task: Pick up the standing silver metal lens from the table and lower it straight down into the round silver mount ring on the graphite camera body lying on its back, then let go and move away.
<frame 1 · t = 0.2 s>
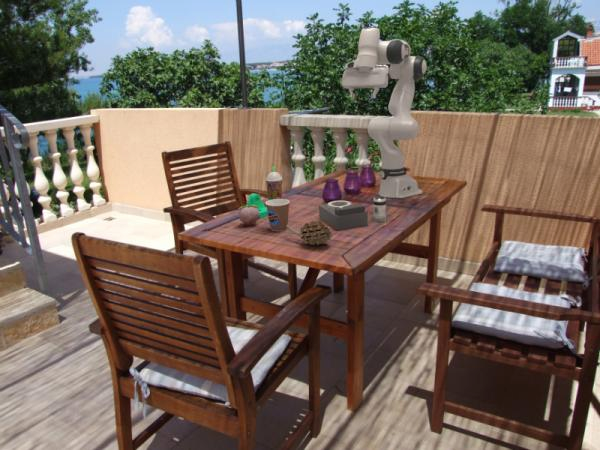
hand: (362, 98, 221), 52 cm above the table, tool tilted 20°, fingers open, 8 cm apart
smoothie: (275, 206, 258), on the table
pine cone: (307, 243, 203), on the table
lens: (379, 220, 227), on the table
coffee cup: (279, 229, 222), on the table
camera mount: (259, 216, 243), on the table
camera body: (342, 221, 227), on the table
decorative fruit: (249, 225, 230), on the table
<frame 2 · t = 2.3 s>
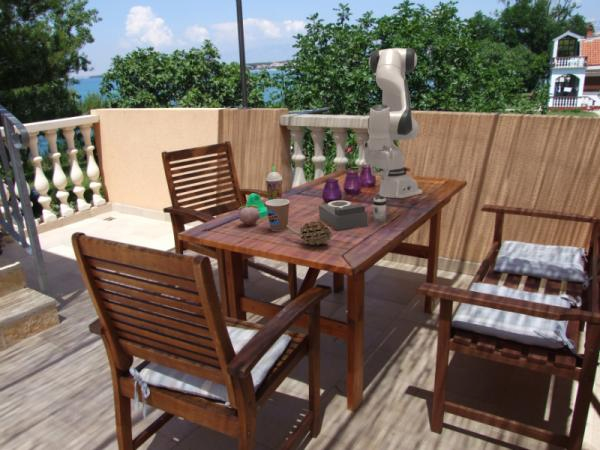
hand: (379, 177, 221), 19 cm above the table, tool pointing down, fingers open, 8 cm apart
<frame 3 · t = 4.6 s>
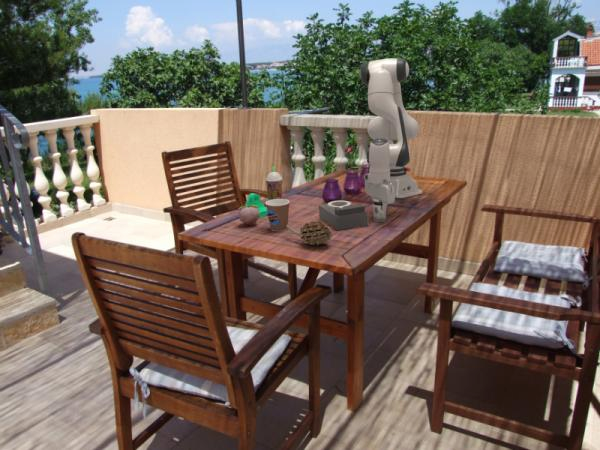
hand: (379, 209, 225), 5 cm above the table, tool pointing down, fingers closed on lens, 5 cm apart
lens: (379, 220, 227), on the table, touching gripper
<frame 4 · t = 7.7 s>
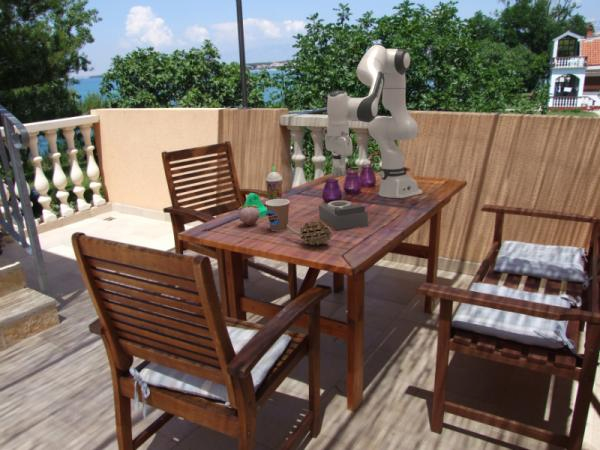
hand: (339, 163, 222), 25 cm above the table, tool pointing down, fingers closed on lens, 5 cm apart
lens: (339, 175, 224), point 20 cm above the table, touching gripper
when the fingers open (10 cm above the table, at t = 11.2 s): lens drops 1 cm, resting on camera body.
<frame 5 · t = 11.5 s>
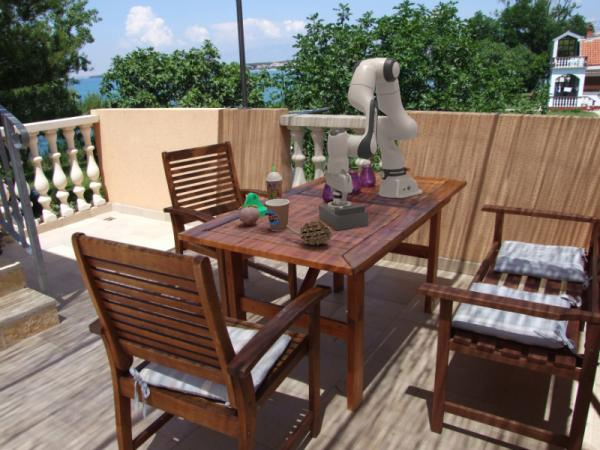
hand: (339, 199, 227), 10 cm above the table, tool pointing down, fingers open, 8 cm apart
lens: (339, 213, 229), point 3 cm above the table, touching camera body
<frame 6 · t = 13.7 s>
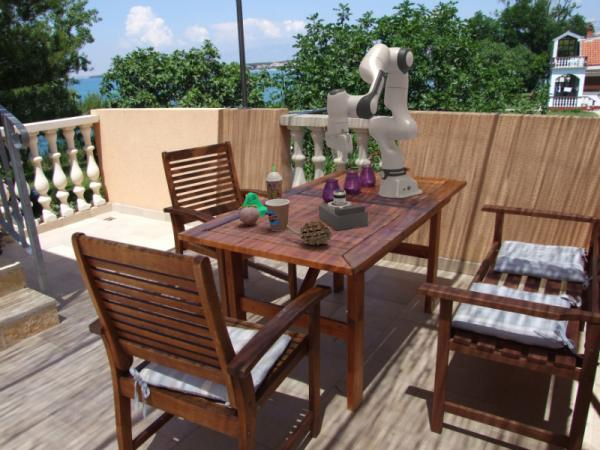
hand: (339, 160, 227), 26 cm above the table, tool pointing down, fingers open, 8 cm apart
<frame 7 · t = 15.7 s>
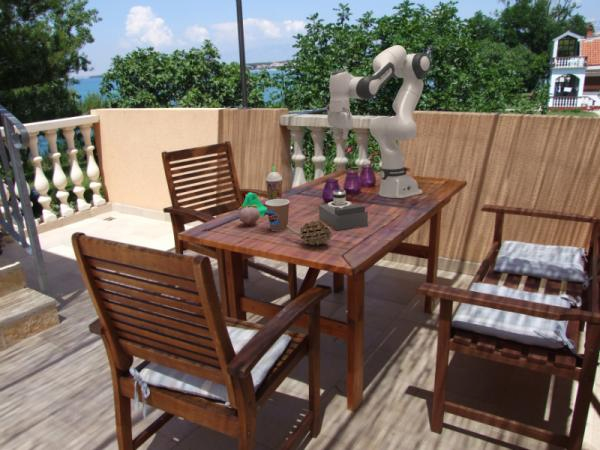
hand: (340, 137, 240), 33 cm above the table, tool pointing down, fingers open, 8 cm apart
at the end: lens 0.1 cm from the target spot on the camera body, point 3.1 cm above the camera body's base; lens tilted 1°; the gripper is holding nothing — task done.
